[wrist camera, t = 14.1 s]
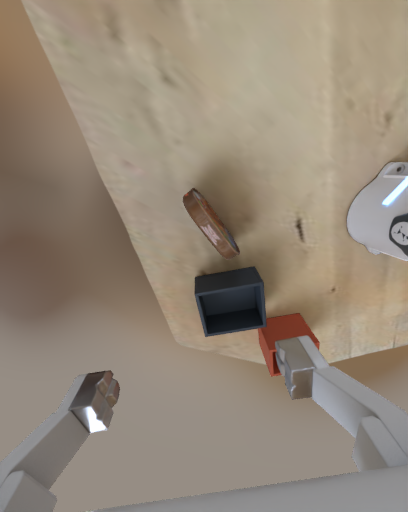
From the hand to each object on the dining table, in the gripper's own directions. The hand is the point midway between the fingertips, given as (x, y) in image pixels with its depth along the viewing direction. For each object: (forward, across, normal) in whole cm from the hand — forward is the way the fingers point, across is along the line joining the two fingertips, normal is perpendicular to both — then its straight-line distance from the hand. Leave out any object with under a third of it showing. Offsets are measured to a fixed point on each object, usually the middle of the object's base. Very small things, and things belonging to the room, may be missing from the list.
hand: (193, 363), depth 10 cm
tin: (+34, -3, +2) cm, 34 cm away
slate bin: (+33, -4, +20) cm, 39 cm away
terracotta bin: (+33, -16, +35) cm, 51 cm away
